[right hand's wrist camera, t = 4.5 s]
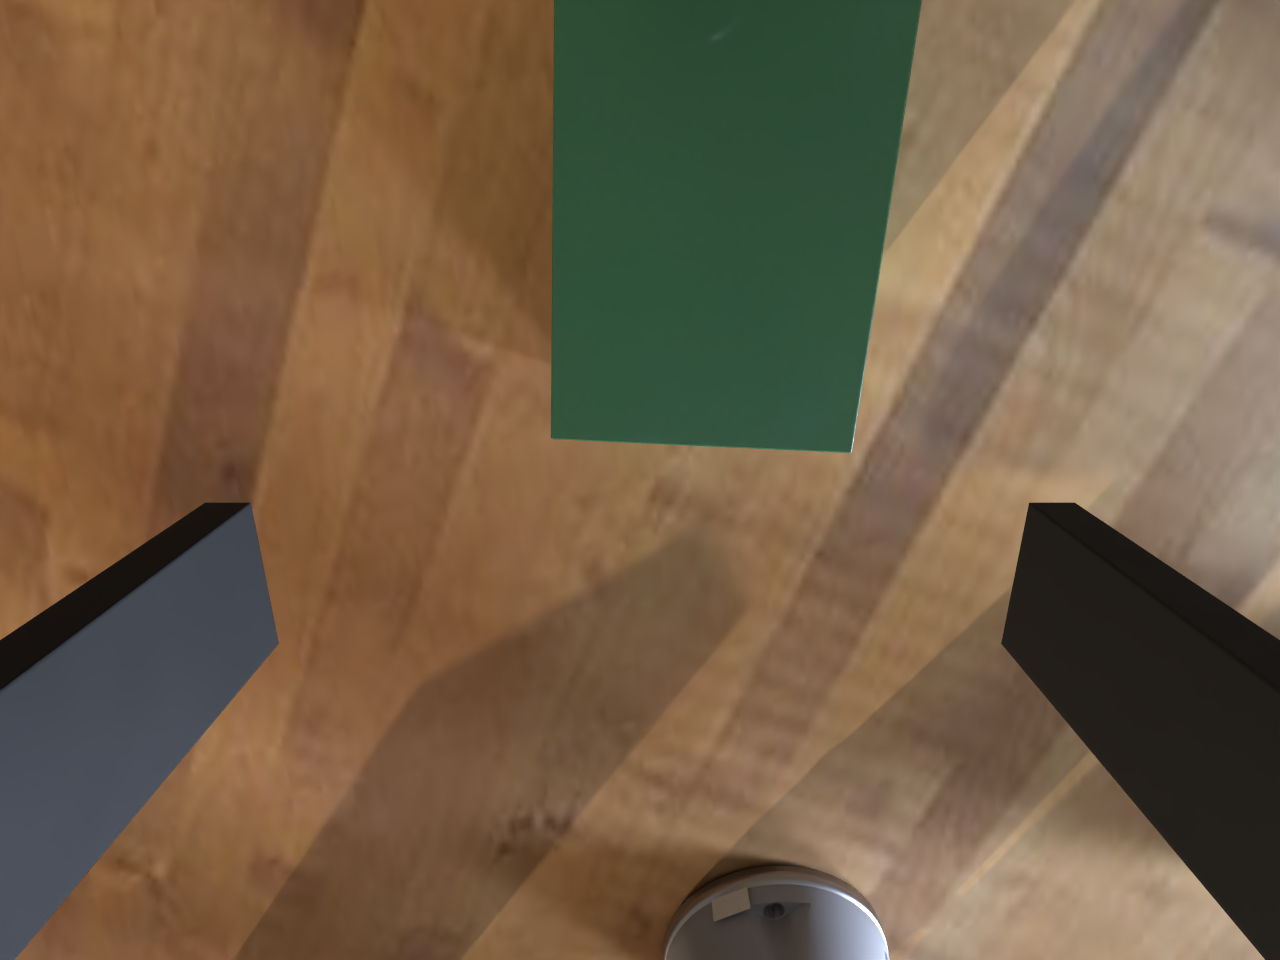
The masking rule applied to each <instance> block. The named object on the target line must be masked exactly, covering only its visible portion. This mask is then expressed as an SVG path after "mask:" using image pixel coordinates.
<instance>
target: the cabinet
mask: <svg viewBox="0 0 1280 960" xmlns="http://www.w3.org/2000/svg"><path fill="white" fill-rule="evenodd" d="M921 3H922V0H554V99H553V234H552V370H551V438H552V439H561V440H582V441H604V442H625V443H647V444H668V445H689V446H711V447H732V448H754V449H775V450H797V451H818V452H840V453H851V452H852V448H853V441H854V435H855V428H856V422H857V415H858V409H859V403H860V396H861V390H862V383H863V377H864V370H865V364H866V357H867V351H868V345H869V338H870V332H871V325H872V319H873V312H874V306H875V299H876V293H877V287H878V280H879V274H880V267H881V261H882V254H883V248H884V242H885V235H886V229H887V222H888V216H889V209H890V203H891V196H892V190H893V184H894V177H895V171H896V164H897V158H898V151H899V145H900V138H901V132H902V126H903V119H904V113H905V106H906V100H907V93H908V87H909V80H910V74H911V68H912V61H913V55H914V48H915V42H916V35H917V29H918V22H919V16H920V10H921Z"/></svg>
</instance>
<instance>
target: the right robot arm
mask: <svg viewBox="0 0 1280 960" xmlns="http://www.w3.org/2000/svg"><path fill="white" fill-rule="evenodd" d="M278 644H279V643H278V638H277V633H276V628H275V622H274V617H273V612H272V607H271V602H270V597H269V592H268V587H267V582H266V577H265V572H264V567H263V562H262V557H261V552H260V547H259V542H258V537H257V532H256V527H255V522H254V517H253V512H252V507H251V503H204V504H203V505H201V506H200V507H198V508H197V509H195V510H194V511H192V512H191V513H189V514H188V515H186V516H185V517H183V518H182V519H180V520H179V521H177V522H176V523H174V524H173V525H171V526H170V527H168V528H167V529H165V530H164V531H162V532H161V533H160V534H158V535H157V536H155V537H154V538H152V539H151V540H149V541H148V542H146V543H145V544H143V545H142V546H140V547H139V548H137V549H136V550H134V551H133V552H131V553H130V554H128V555H127V556H125V557H124V558H122V559H121V560H119V561H118V562H116V563H115V564H113V565H112V566H110V567H109V568H107V569H106V570H104V571H103V572H101V573H100V574H98V575H97V576H95V577H94V578H92V579H91V580H89V581H88V582H87V583H85V584H84V585H82V586H81V587H79V588H78V589H76V590H75V591H73V592H72V593H70V594H69V595H67V596H66V597H64V598H63V599H61V600H60V601H58V602H57V603H55V604H54V605H52V606H51V607H49V608H48V609H46V610H45V611H43V612H42V613H40V614H39V615H37V616H36V617H34V618H33V619H31V620H30V621H28V622H27V623H25V624H24V625H22V626H21V627H19V628H18V629H16V630H15V631H14V632H12V633H11V634H9V635H8V636H6V637H5V638H3V639H2V640H0V960H15V959H16V957H17V956H18V955H19V954H20V953H21V951H22V950H23V949H24V948H25V947H26V945H27V944H28V943H29V942H30V941H31V940H32V938H33V937H34V936H35V935H36V934H37V932H38V931H39V930H40V929H41V928H42V926H43V925H44V924H45V923H46V922H47V920H48V919H49V918H50V917H51V916H52V914H53V913H54V912H55V911H56V910H57V908H58V907H59V906H60V905H61V904H62V902H63V901H64V900H65V899H66V898H67V896H68V895H69V894H70V893H71V892H72V890H73V889H74V888H75V887H76V886H77V884H78V883H79V882H80V881H81V880H82V878H83V877H84V876H85V875H86V874H87V872H88V871H89V870H90V869H91V868H92V866H93V865H94V864H95V863H96V862H97V860H98V859H99V858H100V857H101V856H102V855H103V853H104V852H105V851H106V850H107V849H108V847H109V846H110V845H111V844H112V843H113V841H114V840H115V839H116V838H117V837H118V835H119V834H120V833H121V832H122V831H123V829H124V828H125V827H126V826H127V825H128V823H129V822H130V821H131V820H132V819H133V817H134V816H135V815H136V814H137V813H138V811H139V810H140V809H141V808H142V807H143V805H144V804H145V803H146V802H147V801H148V799H149V798H150V797H151V796H152V795H153V793H154V792H155V791H156V790H157V789H158V787H159V786H160V785H161V784H162V783H163V781H164V780H165V779H166V778H167V777H168V775H169V774H170V773H171V772H172V771H173V770H174V768H175V767H176V766H177V765H178V764H179V762H180V761H181V760H182V759H183V758H184V756H185V755H186V754H187V753H188V752H189V750H190V749H191V748H192V747H193V746H194V744H195V743H196V742H197V741H198V740H199V738H200V737H201V736H202V735H203V734H204V732H205V731H206V730H207V729H208V728H209V726H210V725H211V724H212V723H213V722H214V720H215V719H216V718H217V717H218V716H219V714H220V713H221V712H222V711H223V710H224V708H225V707H226V706H227V705H228V704H229V702H230V701H231V700H232V699H233V698H234V696H235V695H236V694H237V693H238V692H239V690H240V689H241V688H242V687H243V686H244V685H245V683H246V682H247V681H248V680H249V679H250V677H251V676H252V675H253V674H254V673H255V671H256V670H257V669H258V668H259V667H260V665H261V664H262V663H263V662H264V661H265V659H266V658H267V657H268V656H269V655H270V653H271V652H272V651H273V650H274V649H275V647H276V646H277V645H278ZM1001 644H1002V645H1003V646H1004V647H1005V649H1006V650H1007V651H1008V652H1009V653H1010V655H1011V656H1012V657H1013V658H1014V659H1015V661H1016V662H1017V663H1018V664H1019V665H1020V667H1021V668H1022V669H1023V670H1024V671H1025V673H1026V674H1027V675H1028V676H1029V677H1030V679H1031V680H1032V681H1033V682H1034V683H1035V685H1036V686H1037V687H1038V688H1039V689H1040V690H1041V692H1042V693H1043V694H1044V695H1045V696H1046V698H1047V699H1048V700H1049V701H1050V702H1051V704H1052V705H1053V706H1054V707H1055V708H1056V710H1057V711H1058V712H1059V713H1060V714H1061V716H1062V717H1063V718H1064V719H1065V720H1066V722H1067V723H1068V724H1069V725H1070V726H1071V728H1072V729H1073V730H1074V731H1075V732H1076V734H1077V735H1078V736H1079V737H1080V738H1081V740H1082V741H1083V742H1084V743H1085V744H1086V746H1087V747H1088V748H1089V749H1090V750H1091V752H1092V753H1093V754H1094V755H1095V756H1096V758H1097V759H1098V760H1099V761H1100V762H1101V764H1102V765H1103V766H1104V767H1105V768H1106V770H1107V771H1108V772H1109V773H1110V774H1111V775H1112V777H1113V778H1114V779H1115V780H1116V781H1117V783H1118V784H1119V785H1120V786H1121V787H1122V789H1123V790H1124V791H1125V792H1126V793H1127V795H1128V796H1129V797H1130V798H1131V799H1132V801H1133V802H1134V803H1135V804H1136V805H1137V807H1138V808H1139V809H1140V810H1141V811H1142V813H1143V814H1144V815H1145V816H1146V817H1147V819H1148V820H1149V821H1150V822H1151V823H1152V825H1153V826H1154V827H1155V828H1156V829H1157V831H1158V832H1159V833H1160V834H1161V835H1162V837H1163V838H1164V839H1165V840H1166V841H1167V843H1168V844H1169V845H1170V846H1171V847H1172V849H1173V850H1174V851H1175V852H1176V853H1177V855H1178V856H1179V857H1180V858H1181V859H1182V860H1183V862H1184V863H1185V864H1186V865H1187V866H1188V868H1189V869H1190V870H1191V871H1192V872H1193V874H1194V875H1195V876H1196V877H1197V878H1198V880H1199V881H1200V882H1201V883H1202V884H1203V886H1204V887H1205V888H1206V889H1207V890H1208V892H1209V893H1210V894H1211V895H1212V896H1213V898H1214V899H1215V900H1216V901H1217V902H1218V904H1219V905H1220V906H1221V907H1222V908H1223V910H1224V911H1225V912H1226V913H1227V914H1228V916H1229V917H1230V918H1231V919H1232V920H1233V922H1234V923H1235V924H1236V925H1237V926H1238V928H1239V929H1240V930H1241V931H1242V932H1243V934H1244V935H1245V936H1246V937H1247V938H1248V940H1249V941H1250V942H1251V943H1252V944H1253V945H1254V947H1255V948H1256V949H1257V950H1258V951H1259V953H1260V954H1261V955H1262V956H1263V957H1264V959H1265V960H1280V640H1278V639H1277V638H1275V637H1274V636H1272V635H1271V634H1269V633H1268V632H1266V631H1265V630H1264V629H1262V628H1261V627H1259V626H1258V625H1256V624H1255V623H1253V622H1252V621H1250V620H1249V619H1247V618H1246V617H1244V616H1243V615H1241V614H1240V613H1238V612H1237V611H1235V610H1234V609H1232V608H1231V607H1229V606H1228V605H1226V604H1225V603H1223V602H1222V601H1220V600H1219V599H1217V598H1216V597H1214V596H1213V595H1211V594H1210V593H1208V592H1207V591H1205V590H1204V589H1202V588H1201V587H1199V586H1198V585H1196V584H1195V583H1193V582H1192V581H1191V580H1189V579H1188V578H1186V577H1185V576H1183V575H1182V574H1180V573H1179V572H1177V571H1176V570H1174V569H1173V568H1171V567H1170V566H1168V565H1167V564H1165V563H1164V562H1162V561H1161V560H1159V559H1158V558H1156V557H1155V556H1153V555H1152V554H1150V553H1149V552H1147V551H1146V550H1144V549H1143V548H1141V547H1140V546H1138V545H1137V544H1135V543H1134V542H1132V541H1131V540H1129V539H1128V538H1126V537H1125V536H1123V535H1122V534H1120V533H1119V532H1118V531H1116V530H1115V529H1113V528H1112V527H1110V526H1109V525H1107V524H1106V523H1104V522H1103V521H1101V520H1100V519H1098V518H1097V517H1095V516H1094V515H1092V514H1091V513H1089V512H1088V511H1086V510H1085V509H1083V508H1082V507H1080V506H1079V505H1077V504H1076V503H1029V507H1028V512H1027V517H1026V522H1025V527H1024V532H1023V537H1022V542H1021V547H1020V552H1019V557H1018V562H1017V567H1016V572H1015V577H1014V582H1013V587H1012V592H1011V597H1010V602H1009V607H1008V612H1007V617H1006V622H1005V628H1004V633H1003V638H1002V643H1001ZM663 950H664V960H889V955H888V948H887V943H886V940H885V937H884V934H883V931H882V928H881V925H880V922H879V920H878V917H877V915H876V913H875V911H874V909H873V908H872V906H871V905H870V903H869V902H868V901H867V900H866V899H865V897H864V896H863V895H862V894H860V893H859V892H858V891H857V890H856V889H855V888H853V887H852V886H850V885H849V884H847V883H846V882H844V881H842V880H840V879H838V878H836V877H834V876H832V875H829V874H826V873H824V872H821V871H817V870H813V869H808V868H803V867H795V866H764V867H756V868H751V869H745V870H742V871H738V872H734V873H731V874H729V875H726V876H723V877H721V878H719V879H717V880H714V881H713V882H711V883H709V884H707V885H705V886H704V887H702V888H701V889H699V890H698V891H696V892H695V893H694V894H693V895H692V896H690V897H689V898H688V899H687V900H686V901H685V902H684V903H683V904H682V905H681V906H680V908H679V909H678V910H677V911H676V913H675V915H674V916H673V918H672V919H671V921H670V923H669V925H668V928H667V931H666V934H665V939H664V949H663Z"/></svg>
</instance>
